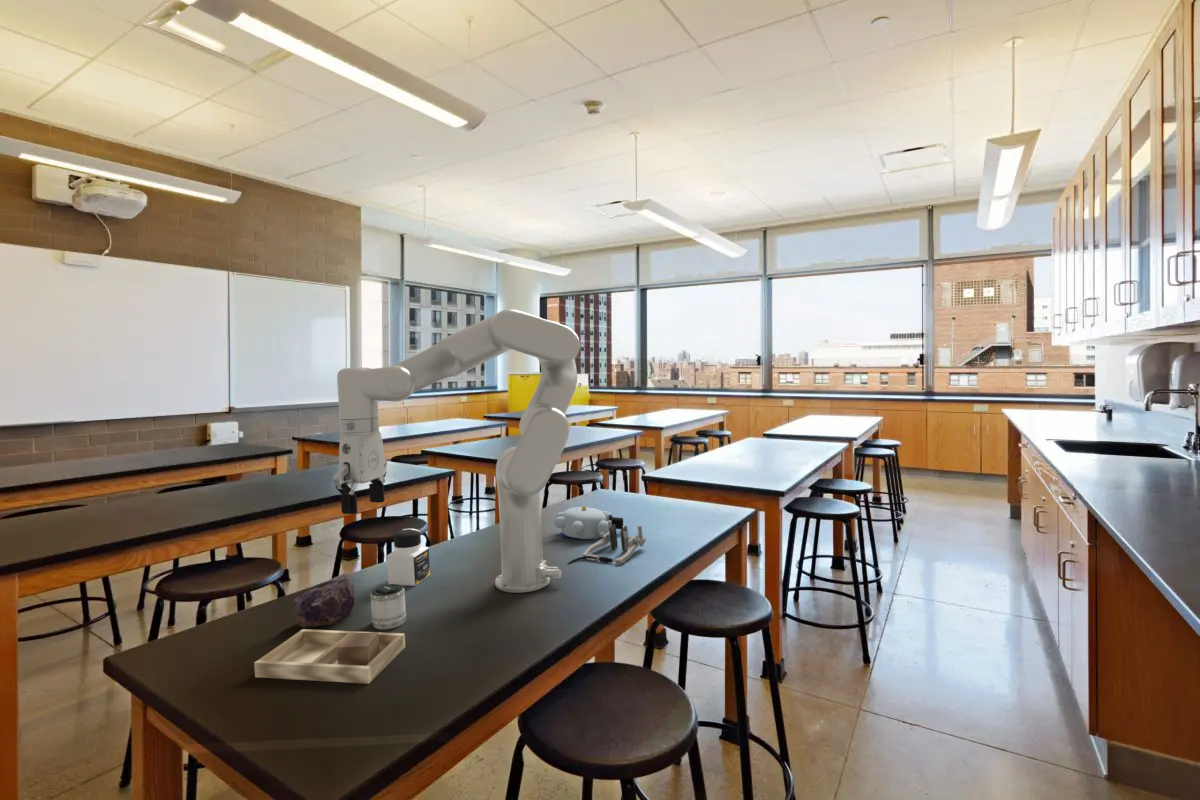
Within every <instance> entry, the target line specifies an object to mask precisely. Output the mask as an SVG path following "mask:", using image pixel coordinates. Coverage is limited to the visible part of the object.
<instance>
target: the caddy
mask: <svg viewBox="0 0 1200 800" xmlns="http://www.w3.org/2000/svg"><path fill="white" fill-rule="evenodd" d="M369 632H370V631H358V630H357V631H354V630H353V631H352V630H350V631H349V630H330V629H329V630H328V629H326V630H325V629H310V628H309V629H307V628H306V629H305V628H303V629H300V630H299V631H298V632H296V633H295V634H293V635H292V636H290V637H289V638H288V639H286V640H285V641H283V642H282V643H281V644H279V645H278V646H276V647H275V648H273V649H272V650H271V651H269V652H268V653H266V654H265V655H263V656H262V657H260V658H258V660H256V661H254V663H253V665H254V677H255V678H258V679H260V678H263V679H277V680H278V679H279V680H295V681H296V680H298V681H313V682H315V681H316V682H331V683H334V682H335V683H349V684H350V683H351V684H366V685H369V684H370V683H372V681H373V680H375V678H376V677H377V676H378V675H379V674H380V673H382V671H383V670H384V669H385V668H386V667H387V666H388V665H389V664H390V663H391V662H392V661H393V660H394V659H396V657H397V656H398V655H399V654H400V653H401V652H402V651H403V650H404V649H405V648H406V633H403V632H401V633H400V632H381V631H377V632H378V633H379V651H380V653H379V654H378V655H377V656H376V657H375V658H374V659H373V660H372V661H371V662H370V663H368V664H367V665H366V666H358V665H339V664H338V656H337V647H338V646H339V644H340V643H341V642H342V641H343V640H344V639H345V638H346V637H347V635H348V634H349V633H369Z"/></svg>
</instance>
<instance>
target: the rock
mask: <svg viewBox="0 0 1200 800" xmlns="http://www.w3.org/2000/svg"><path fill="white" fill-rule="evenodd" d="M356 600H357V599H356V596H355V589H354V585H353V583H352V581H351V579H350V576H349V575H348V573H347V572H344V573H343V574H340V575H338V576H335V577H333V578H331V579H329V580H327V581H326V580H324V581H322V582H320V583H318V584H317V585H315V586H314V587H312V588H310V589H309V590H305V591H304V593H302V594H300V595H299V596H297V597H296V598H295V599H294V608H295V609H294V611H295V615H296V617H295V621H296V623H297V625H298V627H301V628H303V629H305V628H306V629H307V628H314V627H319V626H329V625H333V624H335V623H337V622H339V621H341V620H342V619H344V618H346V617H348V616H350V615H351V614H353V612H354V606H355V605H356V602H357V601H356Z"/></svg>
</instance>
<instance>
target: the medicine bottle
mask: <svg viewBox="0 0 1200 800" xmlns="http://www.w3.org/2000/svg"><path fill="white" fill-rule="evenodd" d="M393 546H394V547H393V548H394V551H392V552H390V553H388V554H387V555H386V564H387V565H386V566H387V567H386V568H387V581H388V582H387V584H397V585H401V586H409V587H415V586H418V585H419V584H420V583H421V582H422V581H424V580H425V579H427V578H428V577H429V576H430V575H431V568H430V551H429V550H430V549H429V546H422V537H421V531H420V530H419V529H416V528H403V529H400V530H398V531H396V532H395V533H394V534H393Z"/></svg>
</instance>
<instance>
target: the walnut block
mask: <svg viewBox="0 0 1200 800" xmlns="http://www.w3.org/2000/svg"><path fill="white" fill-rule="evenodd" d="M368 632H369V633H349V634H348V635H347V637H346V638H345V639H344V640H343V641H342V642H341V643H340V644H339V646H338V647H337V656H338V664H339V665H358V666H366V665H367V664H368V663H370V662H371V661H372V660H373V659H374V658H375V657H376V656H377V655H378V654H379V653H380V651H379V633H378V632H379V631H377V632H376V631H368Z"/></svg>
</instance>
